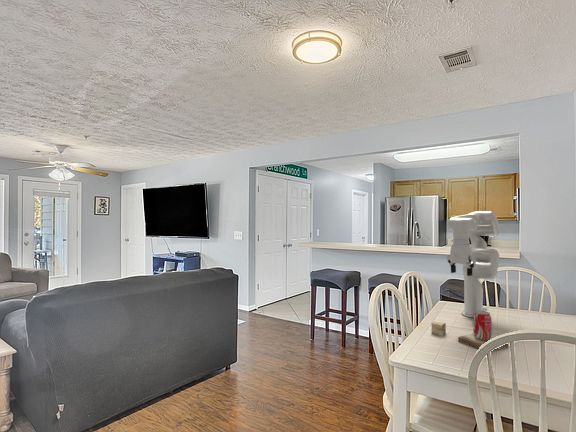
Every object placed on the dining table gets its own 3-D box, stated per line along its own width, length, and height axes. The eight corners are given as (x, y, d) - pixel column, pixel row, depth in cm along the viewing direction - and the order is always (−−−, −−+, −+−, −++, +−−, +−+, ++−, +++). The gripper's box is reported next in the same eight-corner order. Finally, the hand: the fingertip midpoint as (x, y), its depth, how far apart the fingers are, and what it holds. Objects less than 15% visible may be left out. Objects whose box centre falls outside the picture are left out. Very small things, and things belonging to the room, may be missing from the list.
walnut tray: (478, 336, 162) (478, 332, 162) (508, 346, 149) (507, 341, 149) (458, 341, 156) (458, 336, 156) (486, 351, 143) (486, 346, 143)
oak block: (435, 330, 171) (435, 320, 171) (445, 333, 168) (445, 323, 168) (431, 333, 168) (431, 322, 168) (441, 335, 164) (441, 325, 164)
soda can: (472, 335, 157) (472, 309, 158) (489, 337, 155) (489, 311, 155) (475, 340, 151) (475, 313, 151) (493, 342, 148) (493, 315, 148)
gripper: (442, 241, 186) (442, 272, 186) (471, 243, 170) (471, 277, 170) (451, 240, 189) (452, 270, 189) (480, 243, 173) (481, 276, 174)
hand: (461, 274), depth 180 cm, fingers open, 9 cm apart
